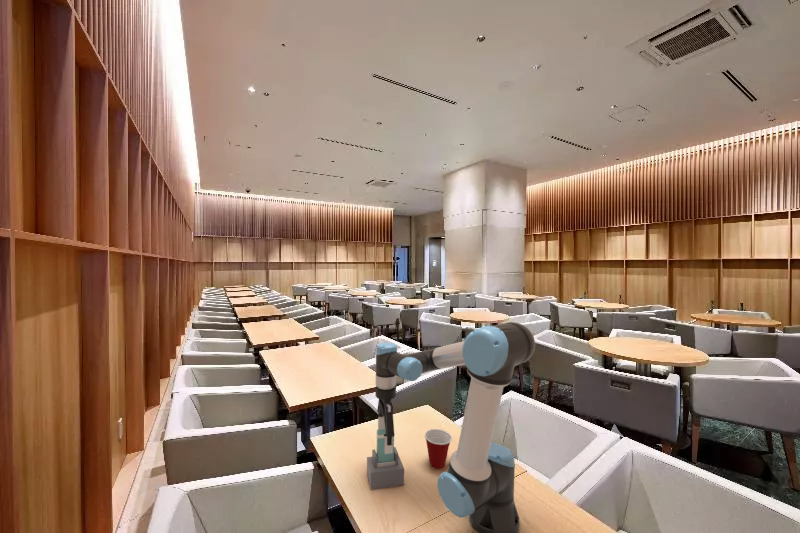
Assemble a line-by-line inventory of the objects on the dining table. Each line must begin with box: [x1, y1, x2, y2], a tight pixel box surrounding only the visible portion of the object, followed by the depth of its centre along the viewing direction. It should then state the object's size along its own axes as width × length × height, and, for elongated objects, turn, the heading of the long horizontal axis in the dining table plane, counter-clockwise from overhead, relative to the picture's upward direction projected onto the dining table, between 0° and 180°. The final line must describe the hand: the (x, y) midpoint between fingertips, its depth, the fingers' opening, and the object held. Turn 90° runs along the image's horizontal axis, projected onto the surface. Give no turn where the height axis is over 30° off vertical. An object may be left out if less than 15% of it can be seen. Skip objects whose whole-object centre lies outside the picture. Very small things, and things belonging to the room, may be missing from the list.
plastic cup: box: [424, 428, 453, 470], centre depth 139 cm, size 11×11×12 cm
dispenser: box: [366, 446, 405, 491], centre depth 131 cm, size 10×12×10 cm
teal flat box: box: [376, 429, 395, 463], centre depth 130 cm, size 2×6×12 cm, turn 103°
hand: (384, 442), depth 131 cm, fingers open, 13 cm apart
